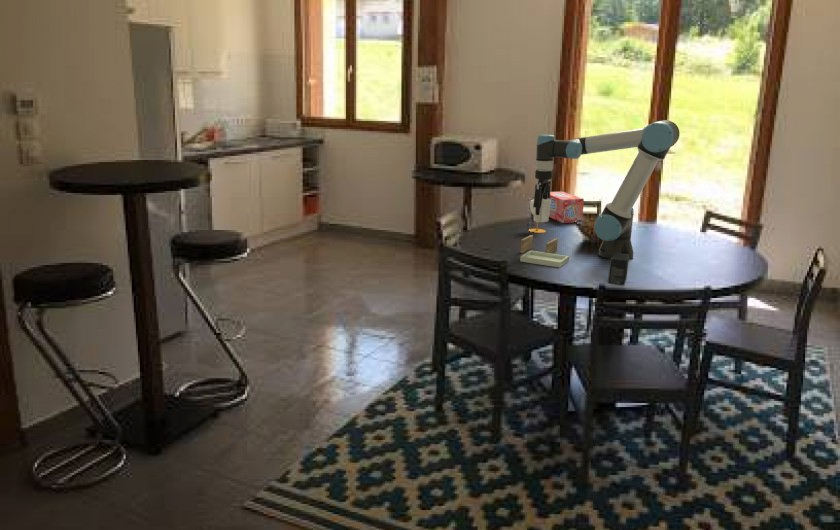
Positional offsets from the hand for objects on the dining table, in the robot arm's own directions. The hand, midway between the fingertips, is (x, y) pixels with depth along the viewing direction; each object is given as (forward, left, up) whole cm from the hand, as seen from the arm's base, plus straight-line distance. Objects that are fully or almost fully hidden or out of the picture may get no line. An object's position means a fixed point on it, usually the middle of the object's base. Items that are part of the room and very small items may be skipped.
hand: (540, 220), depth 310 cm
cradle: (0, 0, -15) cm, 15 cm away
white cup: (0, 0, 0) cm, 1 cm away
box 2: (-43, +26, -15) cm, 52 cm away
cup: (+16, -40, -15) cm, 46 cm away
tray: (-8, +14, -15) cm, 22 cm away
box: (+16, -79, -15) cm, 82 cm away
